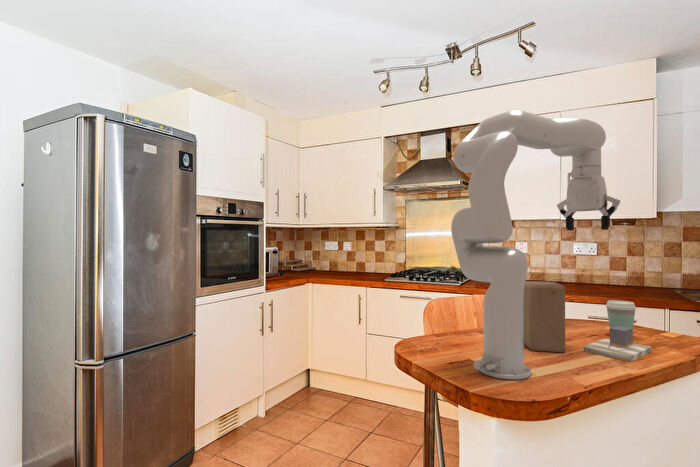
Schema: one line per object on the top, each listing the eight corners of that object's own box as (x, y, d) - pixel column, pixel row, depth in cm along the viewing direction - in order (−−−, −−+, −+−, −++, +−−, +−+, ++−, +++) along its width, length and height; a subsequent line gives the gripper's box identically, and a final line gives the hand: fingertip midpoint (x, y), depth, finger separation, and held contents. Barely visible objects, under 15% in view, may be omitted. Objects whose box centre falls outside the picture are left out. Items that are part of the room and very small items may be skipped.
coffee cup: (635, 336, 132) (635, 301, 132) (637, 341, 125) (637, 305, 125) (605, 332, 136) (605, 299, 137) (606, 338, 129) (606, 302, 129)
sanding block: (625, 348, 112) (625, 330, 112) (609, 344, 116) (609, 328, 116) (632, 344, 116) (632, 328, 116) (617, 341, 119) (617, 325, 119)
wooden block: (566, 353, 112) (566, 285, 112) (530, 351, 114) (529, 284, 114) (555, 344, 122) (555, 281, 122) (521, 342, 124) (521, 280, 124)
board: (630, 361, 104) (630, 356, 104) (583, 351, 114) (583, 346, 114) (651, 351, 114) (651, 346, 114) (606, 342, 123) (606, 338, 124)
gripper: (551, 176, 121) (552, 230, 121) (614, 168, 107) (614, 229, 107) (563, 178, 126) (563, 230, 126) (624, 171, 112) (625, 229, 112)
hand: (587, 229), depth 116 cm, fingers open, 9 cm apart
